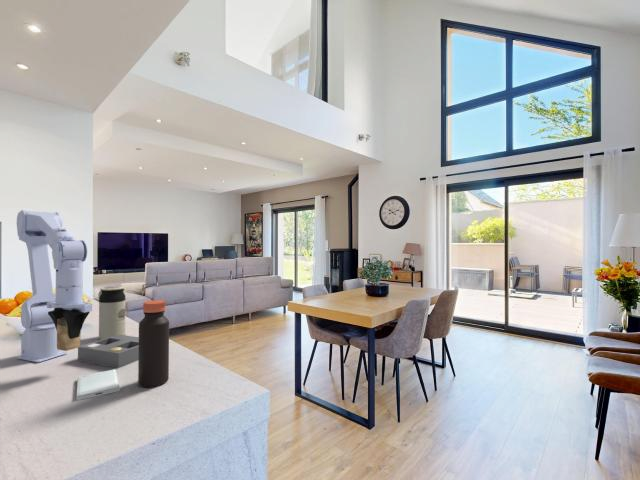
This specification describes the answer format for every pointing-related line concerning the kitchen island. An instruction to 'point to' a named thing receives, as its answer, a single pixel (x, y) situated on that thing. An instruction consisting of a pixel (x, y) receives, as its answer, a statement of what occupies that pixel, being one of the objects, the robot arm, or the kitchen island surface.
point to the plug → (65, 337)
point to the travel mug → (111, 311)
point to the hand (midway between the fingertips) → (68, 336)
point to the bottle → (153, 345)
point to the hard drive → (97, 384)
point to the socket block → (111, 351)
